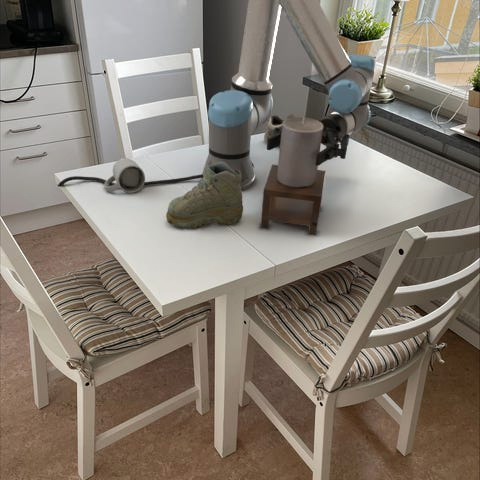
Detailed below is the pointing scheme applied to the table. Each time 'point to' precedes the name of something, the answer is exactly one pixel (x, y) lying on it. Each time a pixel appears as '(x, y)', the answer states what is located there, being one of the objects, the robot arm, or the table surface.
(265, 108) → the robot arm
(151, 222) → the table surface
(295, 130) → the pillar candle
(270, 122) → the hiking shoe
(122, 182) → the ceramic mug
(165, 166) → the table surface
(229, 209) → the sneaker
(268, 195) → the shelf rack
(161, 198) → the table surface
